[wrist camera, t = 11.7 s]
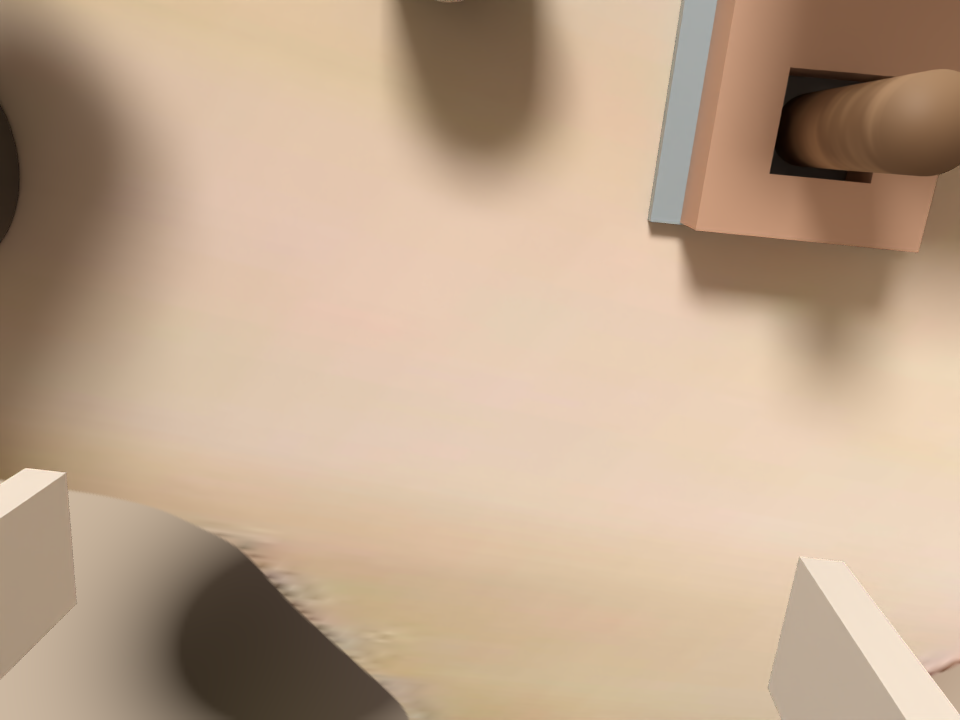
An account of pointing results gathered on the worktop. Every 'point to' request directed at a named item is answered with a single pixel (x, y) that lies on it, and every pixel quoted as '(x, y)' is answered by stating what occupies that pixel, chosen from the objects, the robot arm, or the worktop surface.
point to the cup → (449, 0)
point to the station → (757, 110)
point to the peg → (876, 126)
